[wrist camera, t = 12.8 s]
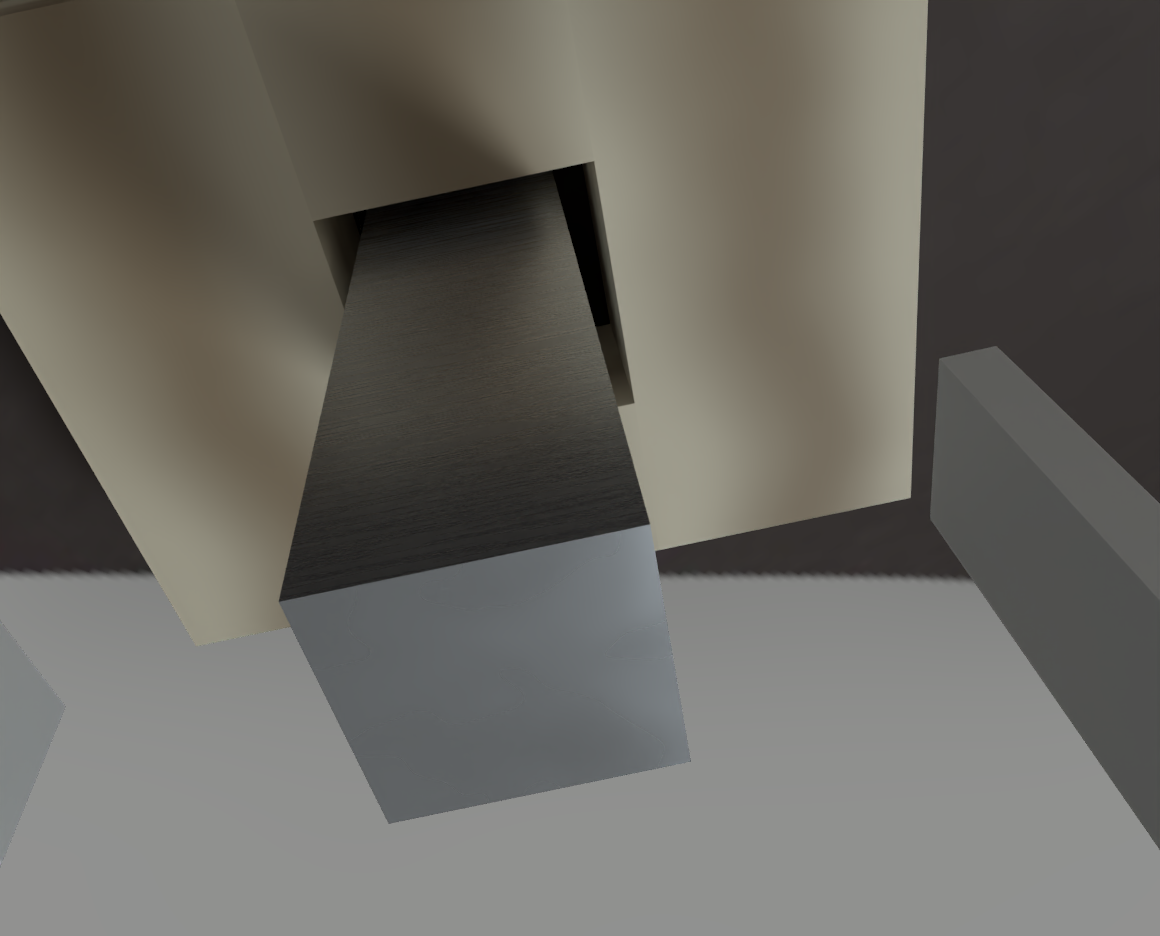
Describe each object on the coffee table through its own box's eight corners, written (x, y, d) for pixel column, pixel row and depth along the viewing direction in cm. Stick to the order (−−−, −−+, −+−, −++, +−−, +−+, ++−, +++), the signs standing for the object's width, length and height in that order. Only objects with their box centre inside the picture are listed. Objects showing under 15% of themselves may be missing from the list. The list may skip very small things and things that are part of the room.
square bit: (420, 338, 24) (388, 823, 12) (373, 183, 21) (278, 602, 10) (576, 304, 24) (690, 761, 12) (545, 146, 21) (650, 524, 10)
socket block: (228, 544, 27) (196, 646, 23) (-48, 8, 19) (-155, 49, 15) (854, 413, 26) (910, 497, 23) (849, -185, 18) (933, -186, 15)
